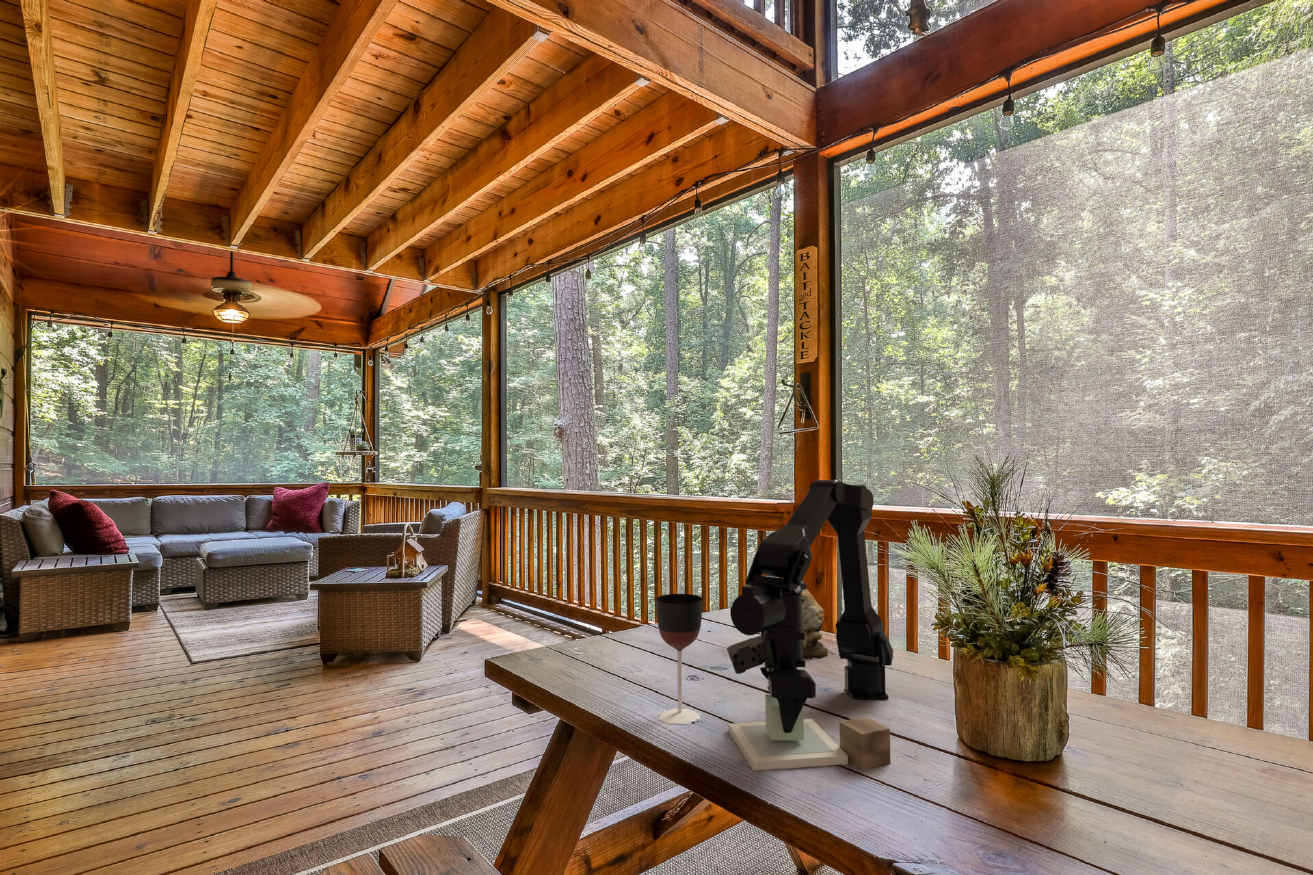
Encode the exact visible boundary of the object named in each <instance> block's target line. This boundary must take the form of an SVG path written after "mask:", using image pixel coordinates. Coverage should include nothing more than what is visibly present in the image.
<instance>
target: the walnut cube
mask: <svg viewBox="0 0 1313 875" xmlns="http://www.w3.org/2000/svg"><path fill="white" fill-rule="evenodd" d="M838 723H839V727H838V728H839V747H840V748H841V749H842V750H843V751H844V752H845V753H846V754H847V755H848V763H849V762H850V763H851V764H853V765H854V766H856V767H857V768H859V769H860V770H862V771H863V770H867V769H872V768H877V767H881V766H885V765H891V763H892V762H891V729H890V727H887V726H885V725H883V724H881V723H879V722H877V721H876V720H874V719H871V718H869V717H868V716H864V717H863V716H862V717H857V718H852V719H847V720H842V721H839V722H838Z"/></svg>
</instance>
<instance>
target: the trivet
mask: <svg viewBox="0 0 1313 875" xmlns="http://www.w3.org/2000/svg"><path fill="white" fill-rule="evenodd" d="M803 719H804V740H770V738H769V735H768V732H767V729H766V721H756V722H755V721H754V722H753V721H752V722H738V723H737V722H735V723H728V732H729V734H730V736H731V737H732V739H733V741H734V742H735V744H736V746H737V747H738V748H739V750H740V752H741V753H742V755H743V757H744V758H745V760H746V761H747V763H748V765H749V766H750V767H751V768H750V769H752V771H753V772H754V771H769V770H781V769H782V770H783V769H784V770H785V769H796V768H811V767H812V768H813V767H824V766H827V767H828V766H837V765H838V766H839V765H840V766H841V765H848V764H849V761H848V755H847V754H846V753H845V752H844V751H843V750H842V749H841V748H840V745H838V744H837V743H836V742H835V741H834V740H833V739H832V738H831V737H830V736H829V735H828V734H827V733H826V732H825V731H824V730H823V729H822V728H821V727H820V725H818V724H817V723H816V722H815V721H814V720H813V719H812V718H803Z"/></svg>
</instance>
